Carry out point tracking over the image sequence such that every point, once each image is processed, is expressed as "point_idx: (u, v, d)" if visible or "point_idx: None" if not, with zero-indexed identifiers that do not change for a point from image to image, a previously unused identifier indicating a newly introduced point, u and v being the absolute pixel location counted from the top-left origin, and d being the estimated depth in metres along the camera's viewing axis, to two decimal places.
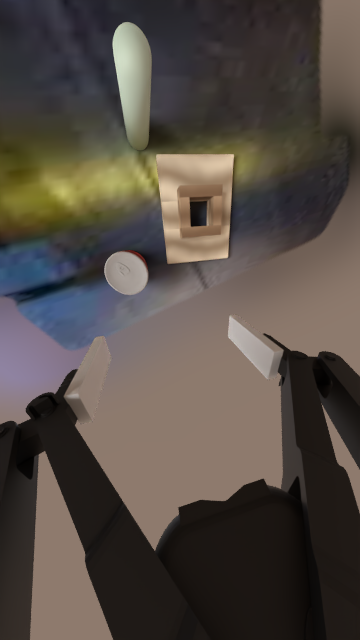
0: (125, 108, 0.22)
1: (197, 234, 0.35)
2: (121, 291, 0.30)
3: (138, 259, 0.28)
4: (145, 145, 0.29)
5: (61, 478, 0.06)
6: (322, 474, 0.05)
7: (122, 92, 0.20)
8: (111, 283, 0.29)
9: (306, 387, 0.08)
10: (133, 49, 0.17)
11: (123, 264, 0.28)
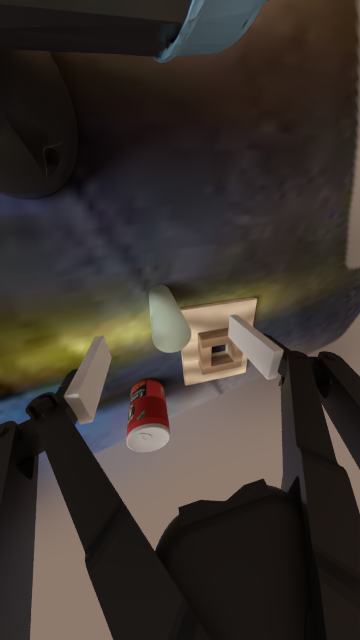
0: None
1: (217, 370, 0.34)
2: (142, 451, 0.29)
3: (161, 429, 0.27)
4: None
5: (61, 478, 0.06)
6: (322, 474, 0.05)
7: None
8: (132, 448, 0.28)
9: (306, 387, 0.08)
10: (173, 333, 0.16)
11: (146, 433, 0.27)
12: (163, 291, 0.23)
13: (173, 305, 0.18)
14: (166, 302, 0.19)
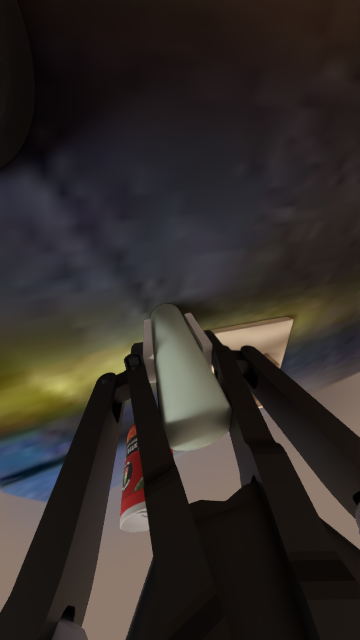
0: None
1: None
2: (142, 530, 0.21)
3: None
4: None
5: (136, 418, 0.08)
6: (270, 463, 0.05)
7: None
8: (128, 529, 0.20)
9: (235, 377, 0.09)
10: (201, 423, 0.08)
11: None
12: (173, 318, 0.16)
13: (194, 352, 0.11)
14: (181, 344, 0.11)
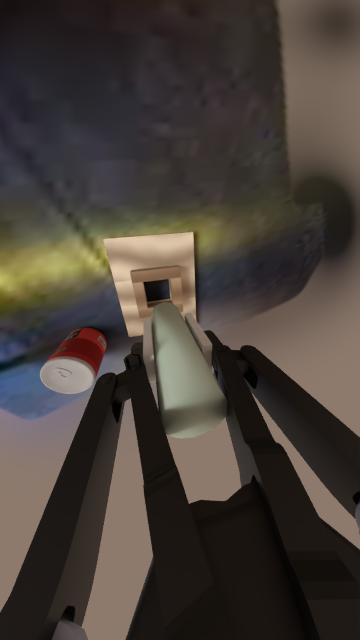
0: None
1: None
2: (64, 392, 0.27)
3: (79, 363, 0.25)
4: None
5: (136, 418, 0.08)
6: (270, 462, 0.05)
7: None
8: (51, 387, 0.26)
9: (235, 377, 0.09)
10: (197, 411, 0.09)
11: (63, 369, 0.25)
12: (172, 316, 0.16)
13: (191, 347, 0.11)
14: (180, 340, 0.12)
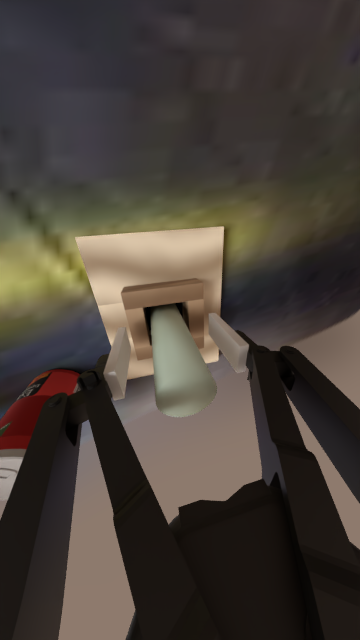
0: None
1: None
2: None
3: None
4: None
5: (98, 443, 0.07)
6: (296, 465, 0.05)
7: None
8: None
9: (271, 379, 0.09)
10: (189, 392, 0.10)
11: None
12: (169, 311, 0.17)
13: (186, 338, 0.13)
14: (175, 332, 0.13)
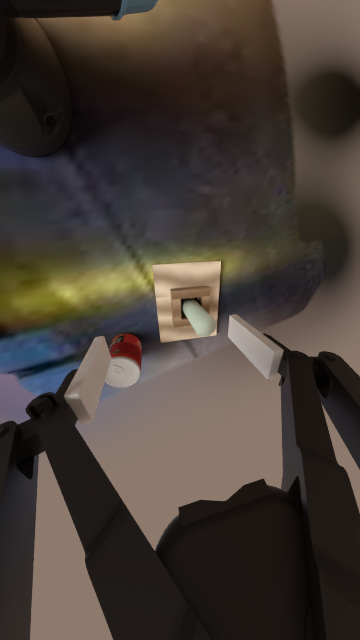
0: (190, 322, 0.33)
1: (187, 324, 0.38)
2: (115, 385, 0.33)
3: (131, 362, 0.32)
4: None
5: (61, 478, 0.06)
6: (322, 474, 0.05)
7: None
8: (106, 380, 0.32)
9: (306, 387, 0.08)
10: (206, 324, 0.28)
11: (118, 366, 0.32)
12: (193, 301, 0.36)
13: (203, 309, 0.31)
14: (199, 307, 0.31)
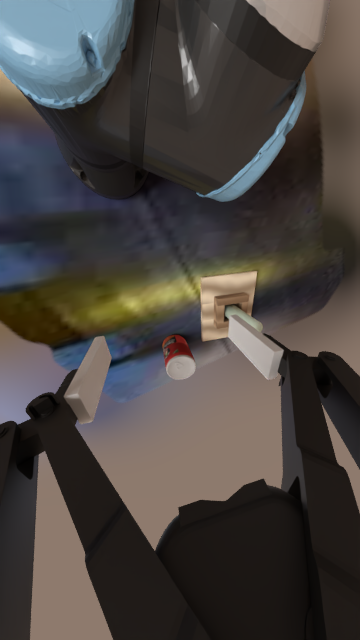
0: None
1: (228, 325, 0.45)
2: (176, 378, 0.41)
3: (190, 359, 0.39)
4: None
5: (61, 478, 0.06)
6: (322, 474, 0.05)
7: None
8: (170, 374, 0.40)
9: (306, 387, 0.08)
10: (255, 328, 0.35)
11: (179, 362, 0.39)
12: (235, 306, 0.43)
13: (249, 315, 0.38)
14: (244, 313, 0.38)
